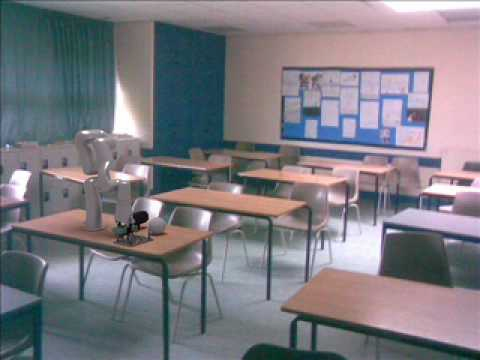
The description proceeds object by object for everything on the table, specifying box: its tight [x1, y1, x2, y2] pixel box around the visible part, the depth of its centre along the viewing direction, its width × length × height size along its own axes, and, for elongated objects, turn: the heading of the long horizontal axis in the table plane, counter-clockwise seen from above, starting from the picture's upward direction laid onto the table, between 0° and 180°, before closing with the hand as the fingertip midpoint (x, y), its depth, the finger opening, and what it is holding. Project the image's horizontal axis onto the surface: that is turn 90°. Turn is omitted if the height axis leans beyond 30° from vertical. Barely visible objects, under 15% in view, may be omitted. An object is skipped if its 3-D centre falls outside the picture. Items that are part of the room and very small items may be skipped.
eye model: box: [148, 216, 167, 235], centre depth 318 cm, size 10×10×10 cm
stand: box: [115, 230, 134, 239], centre depth 313 cm, size 10×4×3 cm, turn 147°
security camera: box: [129, 210, 150, 231], centre depth 327 cm, size 7×18×10 cm, turn 158°
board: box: [111, 223, 136, 234], centre depth 312 cm, size 12×7×4 cm, turn 147°
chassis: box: [113, 225, 154, 248], centre depth 301 cm, size 18×13×7 cm
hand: (124, 232), depth 313 cm, fingers closed on board, 7 cm apart
